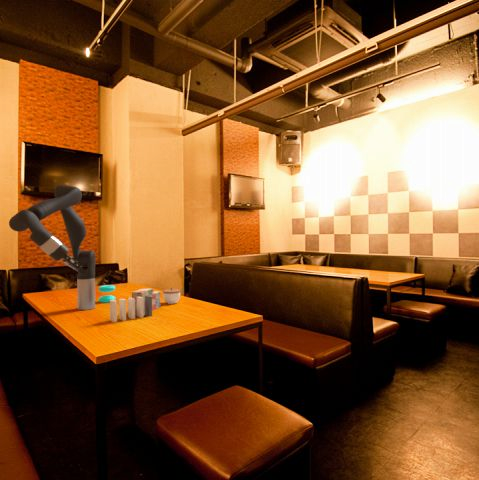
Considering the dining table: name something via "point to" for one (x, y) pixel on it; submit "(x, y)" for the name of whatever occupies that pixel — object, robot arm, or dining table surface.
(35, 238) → the robot arm
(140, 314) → the domino
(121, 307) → the domino
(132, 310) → the domino
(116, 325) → the dining table surface
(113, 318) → the domino
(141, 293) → the stack of blocks
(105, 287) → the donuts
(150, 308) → the domino
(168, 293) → the lidded jar
